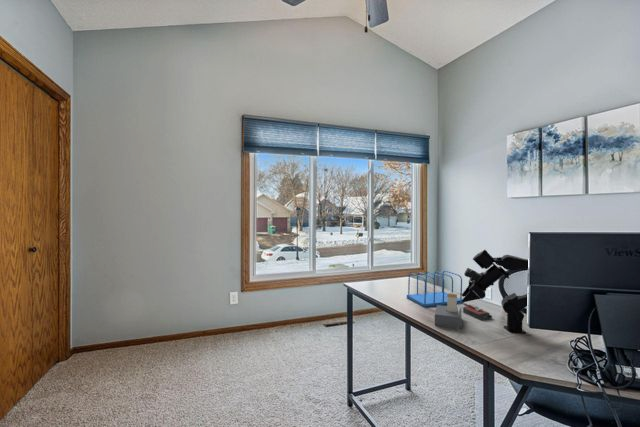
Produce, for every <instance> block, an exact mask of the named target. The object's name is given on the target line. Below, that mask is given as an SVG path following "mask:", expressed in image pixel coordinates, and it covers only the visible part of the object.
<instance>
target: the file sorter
mask: <svg viewBox="0 0 640 427" xmlns="http://www.w3.org/2000/svg"><path fill="white" fill-rule="evenodd" d="M445 272H446V273H445ZM437 273H438V274H437ZM447 273H449V274H451V275H449V274H447ZM420 274H421V275H423V276H425V277H423V276H421V275H420ZM428 274H432V275H433V276H431V275H428ZM439 274H440V275H439ZM411 275H413V276H416V293H412V294H410V281H411V279H410V278H411ZM452 275H455V276H458V277H459V278H460V293H459V294H460V296H459V297H457V304H464V302H463V301H462V299H463V296H462V294H463V278H462V276H461V274H457V273H454V272H451V271H448V270H443V271H442V272H440V271H437V270H436V271H435V272H430V271H427V272H426V273H424V272H420V271H419V272H418V273H417V274H415V273H413V272H410V273H409V274H408V279H407V280H408V282H407V283H408V284H407V287H408V289H407V291H408V292H407V293H408V294H407V295H406V298H407V299H408V300H410V301H412V302H414V303H416V304H418V305H420V306H422V307H424V308H427V307H435V306H437V305H441V306H447V292H445V279H444V276H446V277H447V276H448V277H450V279H451V293H454V278H453V277H452ZM436 276H437V277H439V278H441V279H442V280H441V281H442V283H441V291H436ZM428 277H429V278H430V279H432V280H433V292H427V290H428V289H427V283H428V282H427V281H428ZM420 278H421V279H423V281H424V292H422V293H419V279H420Z"/></svg>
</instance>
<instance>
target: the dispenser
mask: <svg viewBox="0 0 640 427" xmlns="http://www.w3.org/2000/svg"><path fill="white" fill-rule="evenodd" d="M434 311H435V312H434V326H436V327H437V326H439V327H445V328H446V327H447V328H453V329H460V330H461V329H462V320H463V319H462V317H463V316H462V307H458V306H457V313H456V312H447V305H437V306H436V307H435V310H434Z"/></svg>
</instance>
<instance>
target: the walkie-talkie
mask: <svg viewBox="0 0 640 427" xmlns="http://www.w3.org/2000/svg"><path fill="white" fill-rule="evenodd" d="M463 305H464V306H463V308H462V313H464V314H466V315H468V316H470V317H473V318H475V319H477V320H489V319H492V318H493V316H492V314H491V315H490V312H489V311H485V310H484V309H482V308H480V307H478V306H477V305H475V304H471V303H470V304H467V303H463Z"/></svg>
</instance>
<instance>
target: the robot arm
mask: <svg viewBox="0 0 640 427" xmlns="http://www.w3.org/2000/svg"><path fill="white" fill-rule="evenodd" d="M472 260H473V261H474V262H475V264H476V265H478V266H479V268H481V269H482V270H483V269H484V270H485V271H481V272H477V271H476V270H474V269H471V268H470V267H467V268H466V270H465V271H464V276H465V277H467V278H469V280H468V286H467V287H466V288H465V289H464V291H462V301H463V303H466V302H471V301H472V302H473V301H477V300H483V299H484V298H486V295H487V294H486V292H487V289H488V288H490V287H491V286H494V285H495V283H496V282H497V281H499V280H500V279H501V278H502V277H505V278H506V279H510V277H509V275H510V271H519V270H529V269H528V259H527V258H522V257H518V256H517V255H510V254H504V255H503V256H501V257H500V256H499V257H492V255H491V254H490V253H488V251H487V249H483V250H482V251H481V252H478V253H477V254H476V255H474V257H473V258H472ZM527 294H528V293H526V294H523V295H517V294H516V293H515V292H513V293H511V294H508V295H505V297H502V299H501V302H500V303H501V304H500V305H501V306H502V310H503V311H504V313H506V325H503V328H504V329H505V330H507V331H508V333H511V334H513V333H514V334H526V333H527V331H525V330H524V328H523V320H524V318H525V314H524V313H523V310H524V309H525V308H527V307H528V306H527Z"/></svg>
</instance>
